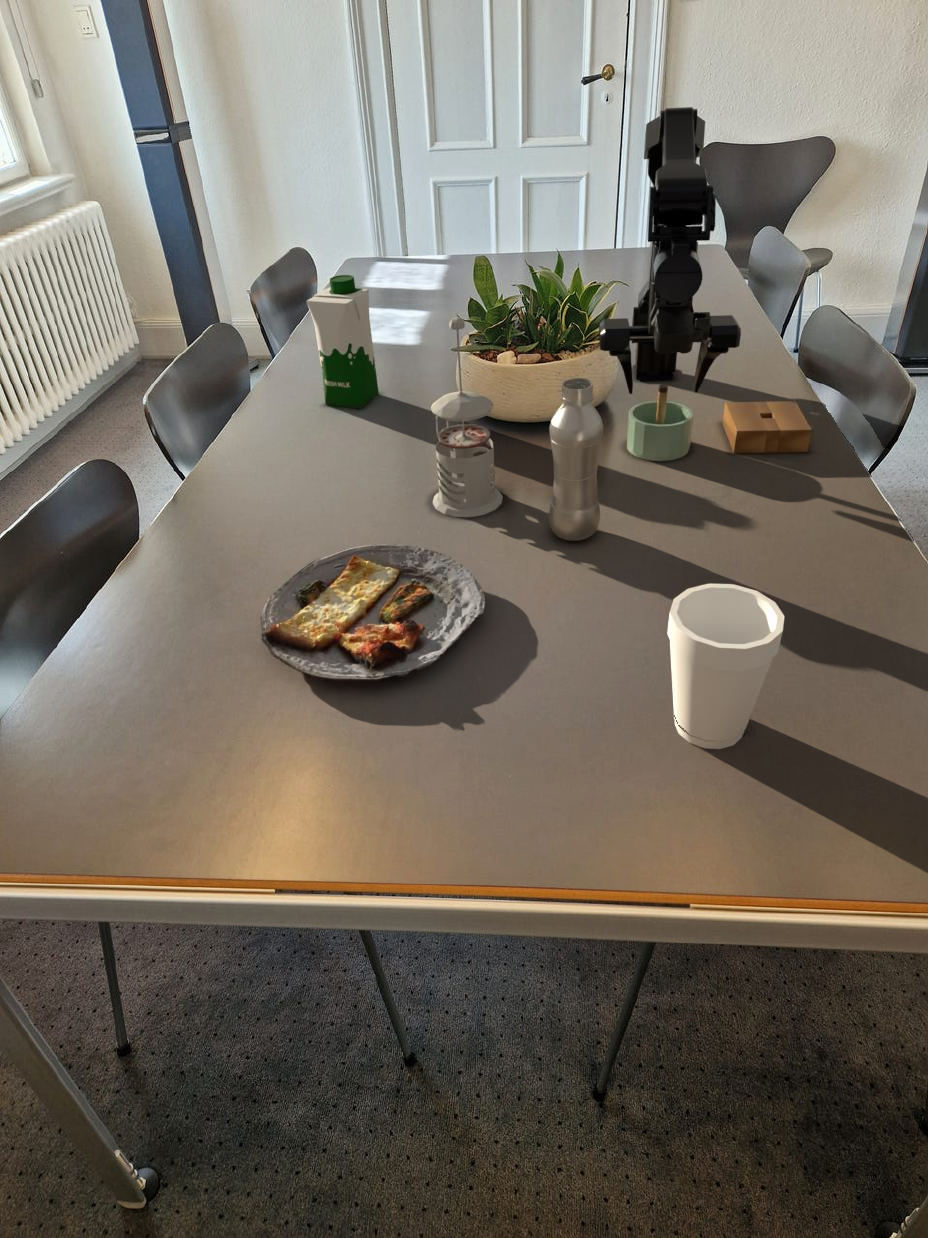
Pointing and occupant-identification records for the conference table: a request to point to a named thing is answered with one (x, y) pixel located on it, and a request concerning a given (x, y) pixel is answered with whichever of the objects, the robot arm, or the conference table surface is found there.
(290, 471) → the conference table surface
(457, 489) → the french press
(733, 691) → the foam cup
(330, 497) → the conference table surface
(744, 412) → the stand
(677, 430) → the cup
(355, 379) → the milk carton
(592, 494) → the silver metal bottle
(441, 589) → the food plate
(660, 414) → the tan brown rod
